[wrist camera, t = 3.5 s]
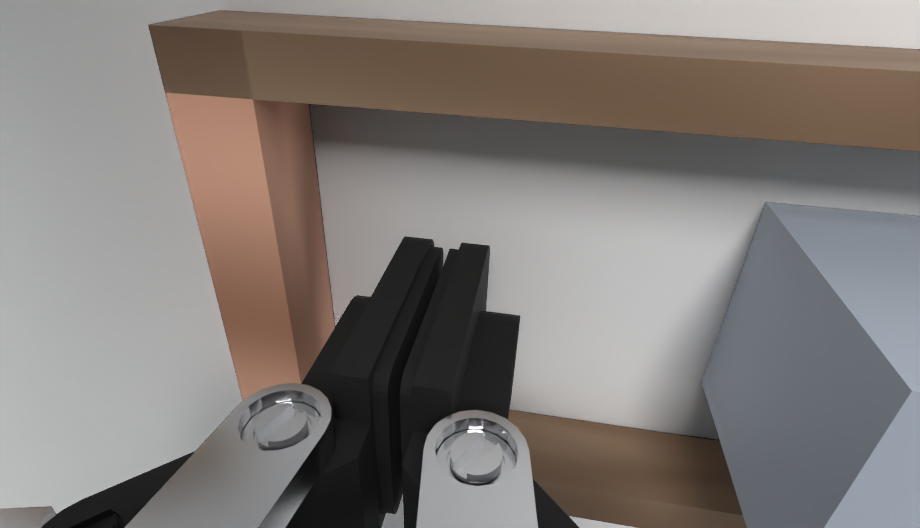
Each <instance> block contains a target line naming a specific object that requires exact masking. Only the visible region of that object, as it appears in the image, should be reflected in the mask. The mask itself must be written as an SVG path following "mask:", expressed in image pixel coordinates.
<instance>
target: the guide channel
mask: <svg viewBox="0 0 920 528" xmlns="http://www.w3.org/2000/svg"><path fill="white" fill-rule="evenodd" d="M148 26H149V30H150V34H151V38H152V42H153V46H154V50H155V54H156V58H157V62H158V66H159V70H160V74H161V78H162V82H163V86H164V90H165V94H166V98H167V102H168V106H169V110H170V113H171V117H172V121H173V125H174V129H175V133H176V137H177V141H178V145H179V149H180V153H181V157H182V161H183V165H184V169H185V173H186V177H187V181H188V185H189V189H190V193H191V197H192V201H193V205H194V209H195V213H196V217H197V221H198V225H199V229H200V233H201V237H202V241H203V245H204V249H205V253H206V257H207V261H208V265H209V268H210V272H211V276H212V280H213V284H214V288H215V292H216V296H217V300H218V304H219V308H220V312H221V316H222V320H223V324H224V328H225V332H226V336H227V340H228V344H229V348H230V352H231V356H232V360H233V364H234V368H235V372H236V376H237V380H238V384H239V388H240V392H241V396H242V400H243V401H244V400H245V399H246V398H247V397H249V396H250V395H252V394H254V393H256V392H258V391H260V390H262V389H264V388H267V387H271V386H274V385H277V384H286V383H298V384H301V383H302V382H303V380H304V378H305V377H306V375H307V373H308V372H309V370H310V368H311V367H312V365H313V363H314V362H315V360H316V358H317V357H318V355H319V353H320V352H321V350H322V348H323V347H324V345H325V343H326V342H327V340H328V338H329V337H330V335H331V333H332V332H333V330H334V328H335V325H334V316H333V307H332V299H331V290H330V282H329V273H328V264H327V256H326V247H325V238H324V230H323V221H322V213H321V204H320V195H319V187H318V178H317V169H316V161H315V152H314V143H313V135H312V126H311V118H310V109H309V104H318V105H331V106H344V107H357V108H370V109H382V110H395V111H408V112H421V113H434V114H447V115H459V116H472V117H485V118H498V119H511V120H524V121H537V122H549V123H562V124H575V125H588V126H601V127H614V128H626V129H639V130H652V131H665V132H678V133H691V134H703V135H716V136H729V137H742V138H755V139H768V140H781V141H793V142H806V143H819V144H832V145H845V146H858V147H870V148H883V149H896V150H909V151H920V49H903V48H885V47H868V46H850V45H832V44H814V43H796V42H778V41H760V40H742V39H724V38H706V37H688V36H671V35H653V34H635V33H617V32H599V31H581V30H563V29H545V28H527V27H509V26H491V25H474V24H456V23H438V22H420V21H402V20H384V19H366V18H348V17H330V16H312V15H294V14H276V13H259V12H241V11H223V10H220V11H215V12H210V13H205V14H200V15H195V16H190V17H185V18H180V19H175V20H170V21H165V22H160V23H155V24H150V25H148ZM508 420H509V421H510V422H511V423H513V424H514V425H515V426H516V427H517V428H518V429H519V430H520V432H521V433H522V434H523V436H524V437H525V439H526V442H527V445H528V448H529V452H530V461H531V470H532V478H533V479H534V480H535V481H536V482H537V483H538V485H539V486H540V487H541V488H542V489H543V490H544V491H545V492H546V493H547V494H548V495H549V496H550V497H551V498H552V499H553V500H554V501H555V503H556V504H557V505H558V506H559V507H560V508H561V509H562V510H563V511H564V512H565V513H566V514H567V515H568V516H573V517H579V518H585V519H591V520H597V521H603V522H609V523H614V524H620V525H626V526H632V527H638V528H747V527H746V523H745V520H744V517H743V514H742V510H741V507H740V504H739V501H738V498H737V494H736V491H735V488H734V485H733V481H732V478H731V475H730V472H729V469H728V465H727V462H726V459H725V456H724V452H723V449H722V446H721V443H720V441H717V440H710V439H703V438H696V437H689V436H683V435H676V434H669V433H662V432H655V431H648V430H642V429H635V428H628V427H621V426H614V425H608V424H601V423H594V422H587V421H580V420H574V419H567V418H560V417H553V416H546V415H540V414H533V413H526V412H519V411H512V410H509V418H508Z"/></svg>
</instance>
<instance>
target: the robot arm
mask: <svg viewBox="0 0 920 528" xmlns="http://www.w3.org/2000/svg"><path fill="white" fill-rule="evenodd" d="M489 256H490V246H487V245H478V244H469V243H461V245H460V248H459V250H457V249H450V250H449V252H448V255H447V258H446V260H445V263H444V266H443V249H442V248H439V247H434V242H433V240H432V239H423V238H414V237H404V238H403V240H402V242H401V243H400V245H399V247H398V249H397V251H396V252H395V254H394V256H393V258H392V260H391V262H390V263H389V265H388V267H387V269H386V271H385V272H384V274H383V276H382V278H381V280H380V282H379V283H378V285H377V287H376V289H375V291H374V292H373V294H372V296H371V297H365V296H355V297H354V298H353V299H352V300H351V302H350V303H349V305H348V307H347V308H346V310H345V312H344V313H343V315H342V317H341V318H340V320H339V322H338V323H337V325H336V327H335V328H334V330H333V332H332V333H331V335H330V337H329V338H328V340H327V342H326V343H325V345H324V347H323V348H322V350H321V352H320V353H319V355H318V357H317V358H316V360H315V362H314V363H313V365H312V367H311V368H310V370H309V372H308V373H307V375H306V377H305V378H304V380H303V382H302V383H301V384H298V383H286V384H277V385H274V386H271V387H267V388H264V389H262V390H260V391H258V392H256V393H254V394H252V395H250V396H249V397H247V398H246V399H245V400H244V401H243V402H242V403H240V404H239V405H238V406H237V407H236V408H235V409H234V410H233V411H232V412H231V413H230V415H229V416H228V417H227V418H226V419H225V420H224V421H223V422H222V423H221V424H220V425H219V426H218V427H217V429H216V430H215V431H214V432H213V433H212V434H211V435H210V436H209V437H208V438H207V439H206V440H205V441H204V443H203V444H202V445H201V446H200V447H199V448H198V449H197V450H196V451H195V452H192V453H190V454H188V455H185V456H183V457H181V458H178V459H176V460H174V461H171V462H169V463H167V464H164V465H162V466H160V467H157V468H155V469H153V470H150V471H148V472H145V473H143V474H141V475H138V476H136V477H134V478H131V479H129V480H127V481H124V482H122V483H120V484H117V485H115V486H113V487H110V488H108V489H106V490H103V491H101V492H99V493H96V494H94V495H92V496H89V497H87V498H85V499H82V500H80V501H79V502H77V503H75V504H73V505H71V506H69V507H67V508H66V509H64V510H62V511H61V512H59V513H58V514H56V513H55V511H54V510H53V508H52V506H49V507H28V508H7V509H0V528H381V526H382V523H383V520H384V517H385V514H386V513H392V514H395V513H396V512H397V510H398V507H399V504H400V501H401V497H402V494H403V506H404V528H579V527H578V526H577V525H576V524H575V523H574V522H573V521H572V520H571V518H570V517H569V516H568V515H567V514H566V513H565V512H564V511H563V510H562V509H561V508H560V507H559V506H558V505H557V504H556V503H555V501H554V500H553V499H552V498H551V497H550V496H549V495H548V494H547V493H546V492H545V491H544V490H543V489H542V488H541V487H540V486H539V485H538V483H537V482H536V481H535V480H534V479H533V478H532V470H531V461H530V452H529V448H528V445H527V442H526V439H525V437H524V436H523V434H522V433H521V432H520V430H519V429H518V428H517V427H516V426H515V425H514V424H513V423H511V422H510V421H509V420H508V418H509V410H510V401H511V393H512V384H513V376H514V367H515V358H516V350H517V341H518V331H519V322H520V316H518V315H510V314H502V313H494V312H486V299H487V285H488V270H489Z"/></svg>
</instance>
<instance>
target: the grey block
mask: <svg viewBox="0 0 920 528" xmlns="http://www.w3.org/2000/svg"><path fill="white" fill-rule="evenodd" d="M701 382H702V385H703V388H704V391H705V395H706V398H707V401H708V404H709V407H710V411H711V414H712V417H713V420H714V424H715V427H716V430H717V433H718V436H719V440H720V443H721V446H722V449H723V452H724V456H725V459H726V462H727V465H728V469H729V472H730V475H731V478H732V481H733V485H734V488H735V491H736V494H737V498H738V501H739V504H740V507H741V510H742V514H743V517H744V520H745V523H746V527H747V528H920V216H913V215H902V214H891V213H880V212H869V211H859V210H848V209H837V208H826V207H815V206H804V205H794V204H783V203H772V202H766V203H765V206H764V208H763V211H762V214H761V217H760V220H759V222H758V225H757V228H756V231H755V234H754V236H753V239H752V242H751V245H750V247H749V250H748V253H747V256H746V259H745V261H744V264H743V267H742V270H741V273H740V275H739V278H738V281H737V284H736V286H735V289H734V292H733V295H732V298H731V300H730V303H729V306H728V309H727V312H726V314H725V317H724V320H723V323H722V325H721V328H720V331H719V334H718V337H717V339H716V342H715V345H714V348H713V351H712V353H711V356H710V359H709V362H708V364H707V367H706V370H705V373H704V376H703V378H702V381H701Z"/></svg>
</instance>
